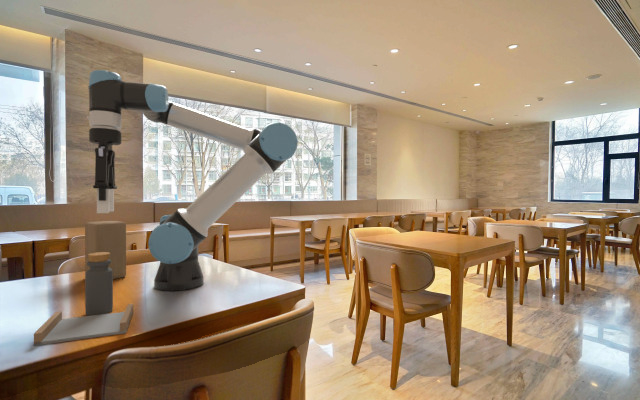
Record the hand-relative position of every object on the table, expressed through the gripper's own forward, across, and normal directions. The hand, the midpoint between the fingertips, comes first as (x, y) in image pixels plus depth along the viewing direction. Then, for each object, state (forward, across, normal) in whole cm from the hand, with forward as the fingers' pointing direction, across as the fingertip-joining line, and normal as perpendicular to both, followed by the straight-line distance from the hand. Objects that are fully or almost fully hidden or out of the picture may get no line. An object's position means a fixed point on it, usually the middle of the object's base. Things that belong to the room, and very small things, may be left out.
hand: (105, 212), depth 93 cm
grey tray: (+25, +20, 0) cm, 32 cm away
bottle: (+25, +9, 0) cm, 27 cm away
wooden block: (+25, -30, -5) cm, 40 cm away
